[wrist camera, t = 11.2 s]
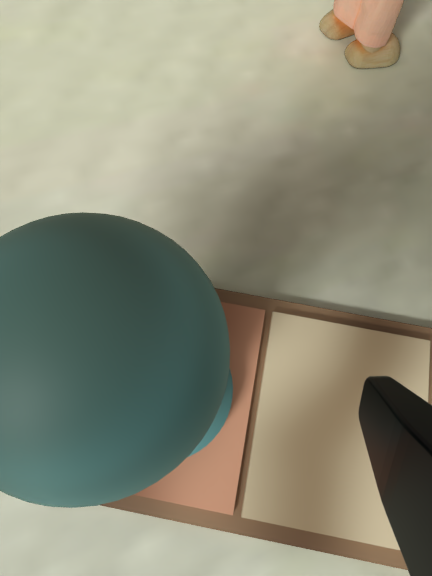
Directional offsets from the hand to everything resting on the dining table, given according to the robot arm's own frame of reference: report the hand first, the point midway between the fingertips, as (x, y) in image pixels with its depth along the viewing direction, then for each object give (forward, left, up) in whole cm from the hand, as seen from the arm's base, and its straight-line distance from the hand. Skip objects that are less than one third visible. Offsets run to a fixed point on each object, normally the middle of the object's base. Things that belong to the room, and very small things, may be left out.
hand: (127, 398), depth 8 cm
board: (-4, -5, -8) cm, 10 cm away
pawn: (0, 0, -8) cm, 8 cm away
